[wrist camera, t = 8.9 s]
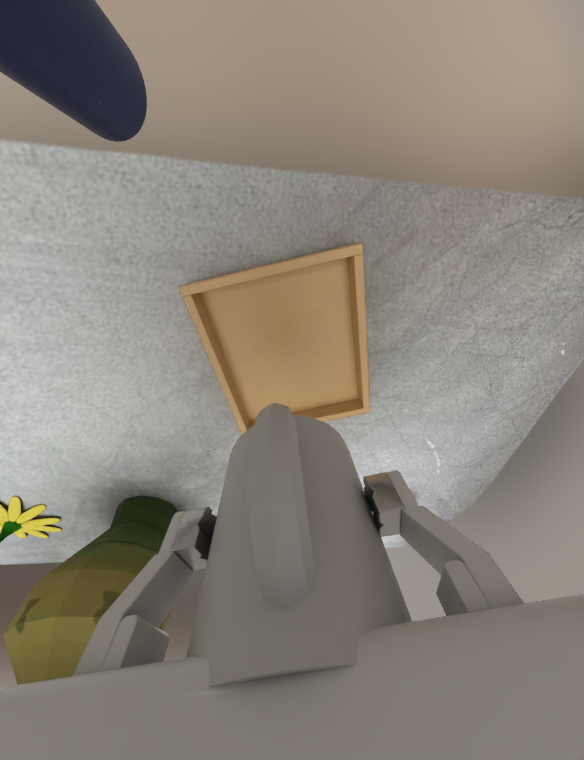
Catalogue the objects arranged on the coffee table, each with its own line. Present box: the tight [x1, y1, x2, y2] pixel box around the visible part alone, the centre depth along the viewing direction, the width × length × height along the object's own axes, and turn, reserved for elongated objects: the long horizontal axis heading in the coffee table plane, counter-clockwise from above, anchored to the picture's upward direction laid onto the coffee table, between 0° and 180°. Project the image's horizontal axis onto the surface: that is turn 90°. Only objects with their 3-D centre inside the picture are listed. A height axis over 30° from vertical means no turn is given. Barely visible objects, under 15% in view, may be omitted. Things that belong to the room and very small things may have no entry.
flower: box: [0, 496, 62, 542], centre depth 35 cm, size 4×12×12 cm
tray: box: [178, 243, 370, 434], centre depth 24 cm, size 18×16×3 cm
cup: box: [186, 403, 412, 687], centre depth 10 cm, size 7×10×9 cm
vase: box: [3, 496, 178, 685], centre depth 25 cm, size 16×16×30 cm
